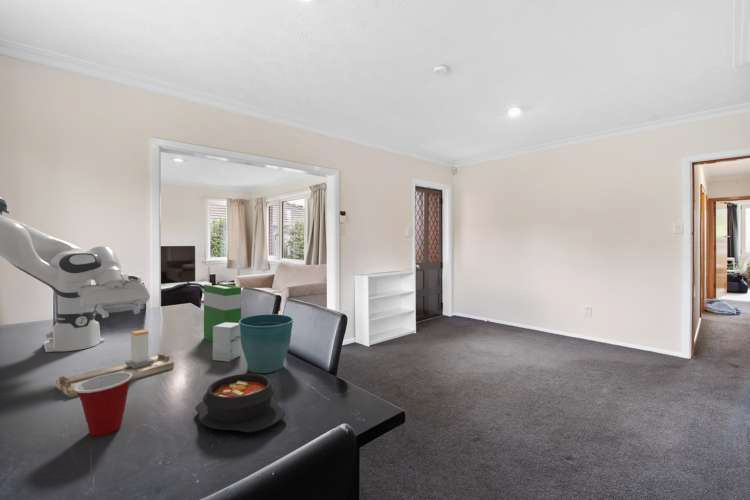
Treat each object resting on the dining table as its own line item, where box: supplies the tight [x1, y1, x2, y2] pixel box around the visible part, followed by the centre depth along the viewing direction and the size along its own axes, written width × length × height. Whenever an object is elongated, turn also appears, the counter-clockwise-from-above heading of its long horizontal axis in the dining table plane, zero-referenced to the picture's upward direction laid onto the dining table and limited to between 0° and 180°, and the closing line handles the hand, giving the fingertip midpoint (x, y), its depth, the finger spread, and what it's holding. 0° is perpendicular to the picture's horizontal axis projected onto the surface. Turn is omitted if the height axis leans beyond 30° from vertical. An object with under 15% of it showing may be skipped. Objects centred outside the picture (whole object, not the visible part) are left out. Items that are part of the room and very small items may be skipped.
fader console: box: [55, 352, 175, 398], centre depth 113 cm, size 12×28×4 cm, turn 146°
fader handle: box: [125, 329, 154, 369], centre depth 118 cm, size 6×6×11 cm
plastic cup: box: [74, 372, 132, 438], centre depth 82 cm, size 11×11×12 cm
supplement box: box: [212, 322, 242, 362], centre depth 132 cm, size 7×7×13 cm
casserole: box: [195, 373, 286, 433], centre depth 89 cm, size 25×19×8 cm
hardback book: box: [203, 282, 242, 342], centre depth 154 cm, size 18×7×24 cm, turn 52°
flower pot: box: [239, 313, 294, 374], centre depth 123 cm, size 18×18×17 cm
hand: (122, 314), depth 123 cm, fingers open, 8 cm apart
